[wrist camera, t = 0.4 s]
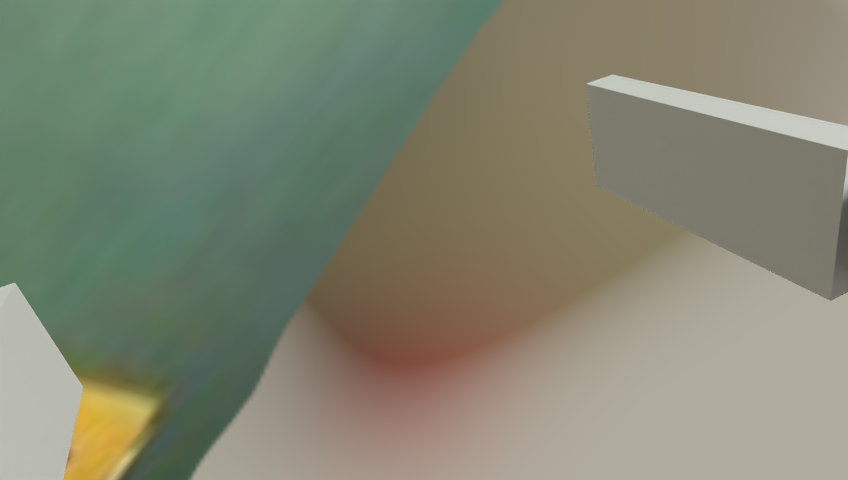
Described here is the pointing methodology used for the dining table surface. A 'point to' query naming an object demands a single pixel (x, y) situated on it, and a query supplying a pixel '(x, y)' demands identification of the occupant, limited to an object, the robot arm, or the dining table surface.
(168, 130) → the dining table surface
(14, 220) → the dining table surface
